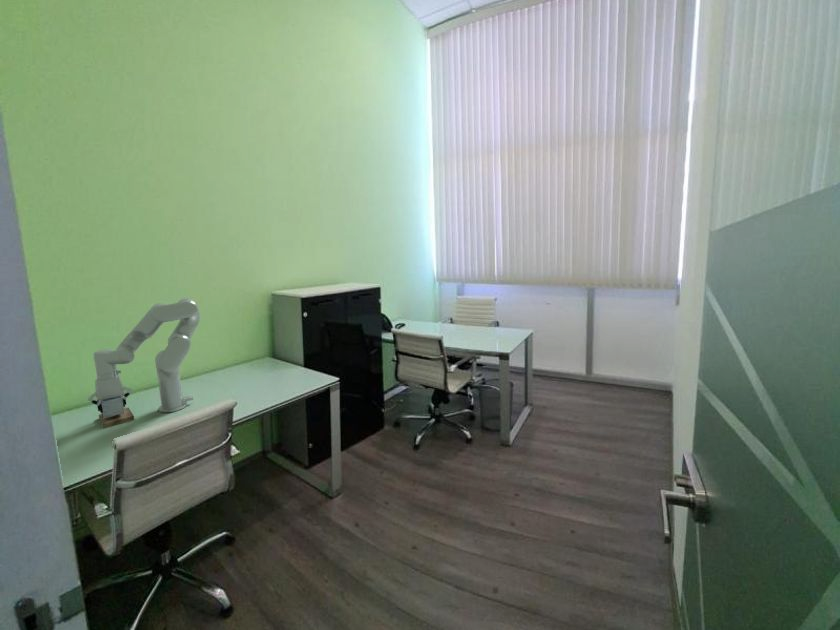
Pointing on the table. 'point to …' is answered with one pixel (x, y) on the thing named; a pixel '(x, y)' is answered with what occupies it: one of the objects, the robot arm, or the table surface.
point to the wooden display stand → (116, 418)
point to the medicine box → (112, 406)
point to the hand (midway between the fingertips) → (112, 409)
